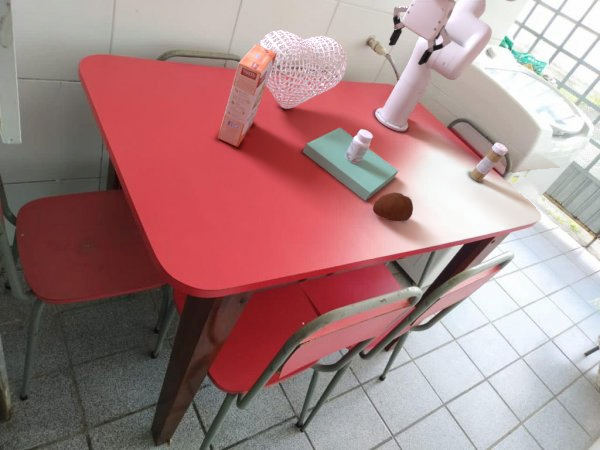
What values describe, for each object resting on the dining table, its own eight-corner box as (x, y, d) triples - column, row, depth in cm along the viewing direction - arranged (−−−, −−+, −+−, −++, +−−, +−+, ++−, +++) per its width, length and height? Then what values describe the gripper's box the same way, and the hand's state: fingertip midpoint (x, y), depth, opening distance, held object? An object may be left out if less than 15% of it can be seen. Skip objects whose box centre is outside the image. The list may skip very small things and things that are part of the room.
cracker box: (238, 148, 103) (262, 73, 89) (216, 139, 102) (237, 61, 88) (254, 123, 113) (278, 52, 99) (234, 114, 112) (255, 41, 99)
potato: (412, 228, 106) (429, 207, 100) (376, 229, 100) (392, 206, 95) (398, 207, 110) (414, 186, 105) (364, 206, 105) (378, 184, 99)
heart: (308, 94, 137) (335, 29, 122) (332, 122, 129) (364, 56, 115) (234, 91, 121) (254, 16, 106) (257, 124, 113) (282, 48, 98)
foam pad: (335, 135, 125) (340, 127, 123) (393, 178, 119) (398, 170, 117) (302, 152, 112) (306, 143, 110) (365, 201, 107) (370, 193, 105)
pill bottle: (362, 159, 114) (376, 135, 109) (357, 166, 111) (371, 141, 105) (347, 150, 115) (361, 126, 109) (342, 157, 111) (355, 132, 106)
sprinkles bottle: (475, 173, 141) (501, 142, 132) (483, 182, 139) (511, 151, 130) (466, 173, 139) (493, 141, 130) (475, 182, 136) (502, 151, 127)
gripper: (477, 4, 99) (437, 69, 110) (419, -30, 103) (386, 36, 114) (468, 6, 94) (427, 73, 105) (407, -30, 98) (374, 39, 109)
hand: (406, 54), depth 110 cm, fingers open, 9 cm apart
